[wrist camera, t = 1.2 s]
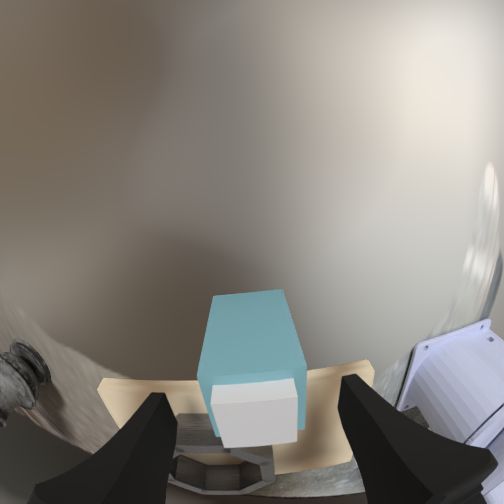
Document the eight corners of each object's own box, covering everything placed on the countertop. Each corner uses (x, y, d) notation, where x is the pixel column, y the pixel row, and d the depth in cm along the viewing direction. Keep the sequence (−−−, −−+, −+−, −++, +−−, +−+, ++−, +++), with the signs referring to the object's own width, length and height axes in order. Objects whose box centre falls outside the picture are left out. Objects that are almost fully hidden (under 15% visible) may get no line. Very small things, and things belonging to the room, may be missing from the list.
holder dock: (367, 359, 18) (391, 400, 14) (346, 450, 22) (357, 483, 17) (103, 377, 18) (82, 416, 13) (154, 462, 21) (147, 494, 17)
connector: (282, 289, 16) (312, 384, 8) (285, 345, 17) (308, 445, 9) (213, 296, 16) (193, 394, 8) (223, 351, 17) (214, 453, 9)
